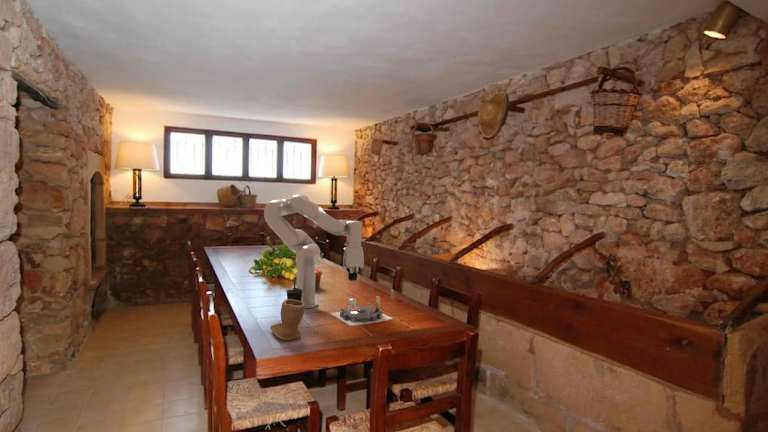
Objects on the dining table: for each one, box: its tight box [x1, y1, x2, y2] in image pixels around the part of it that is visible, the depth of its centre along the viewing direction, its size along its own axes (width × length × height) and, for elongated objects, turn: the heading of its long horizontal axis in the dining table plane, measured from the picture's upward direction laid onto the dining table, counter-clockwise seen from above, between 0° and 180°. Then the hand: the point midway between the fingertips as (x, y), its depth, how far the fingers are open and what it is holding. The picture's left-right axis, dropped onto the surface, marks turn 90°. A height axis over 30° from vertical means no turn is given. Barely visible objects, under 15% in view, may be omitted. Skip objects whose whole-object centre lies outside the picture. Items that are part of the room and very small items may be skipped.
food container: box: [295, 268, 323, 291], centre depth 262 cm, size 16×16×11 cm
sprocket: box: [339, 295, 384, 322], centre depth 205 cm, size 21×21×9 cm
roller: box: [347, 297, 357, 307], centre depth 219 cm, size 4×4×5 cm
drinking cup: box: [286, 276, 303, 301], centre depth 198 cm, size 8×8×20 cm
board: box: [330, 311, 394, 328], centre depth 205 cm, size 23×21×1 cm
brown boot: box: [270, 298, 306, 341], centre depth 175 cm, size 15×12×15 cm
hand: (352, 279), depth 218 cm, fingers closed
